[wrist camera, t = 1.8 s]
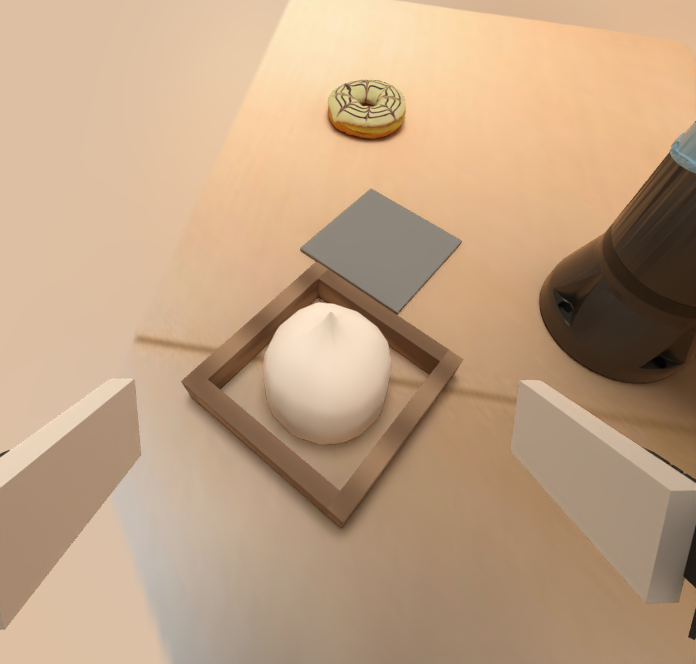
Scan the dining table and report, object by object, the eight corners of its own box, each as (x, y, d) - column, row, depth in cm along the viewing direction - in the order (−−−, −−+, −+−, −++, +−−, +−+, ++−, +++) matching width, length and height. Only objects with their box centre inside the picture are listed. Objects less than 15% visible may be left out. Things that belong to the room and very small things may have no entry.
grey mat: (370, 191, 53) (371, 188, 52) (461, 243, 49) (461, 240, 49) (300, 250, 47) (300, 248, 47) (396, 314, 43) (397, 312, 43)
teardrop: (348, 470, 35) (361, 420, 25) (240, 403, 38) (211, 332, 27) (407, 368, 40) (438, 292, 30) (309, 315, 43) (307, 228, 33)
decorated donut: (329, 97, 63) (330, 70, 60) (401, 103, 64) (406, 76, 60) (325, 140, 58) (325, 113, 55) (403, 146, 58) (408, 120, 55)
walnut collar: (316, 280, 45) (316, 261, 42) (454, 374, 40) (463, 359, 38) (190, 395, 37) (181, 381, 35) (341, 528, 33) (343, 522, 30)
